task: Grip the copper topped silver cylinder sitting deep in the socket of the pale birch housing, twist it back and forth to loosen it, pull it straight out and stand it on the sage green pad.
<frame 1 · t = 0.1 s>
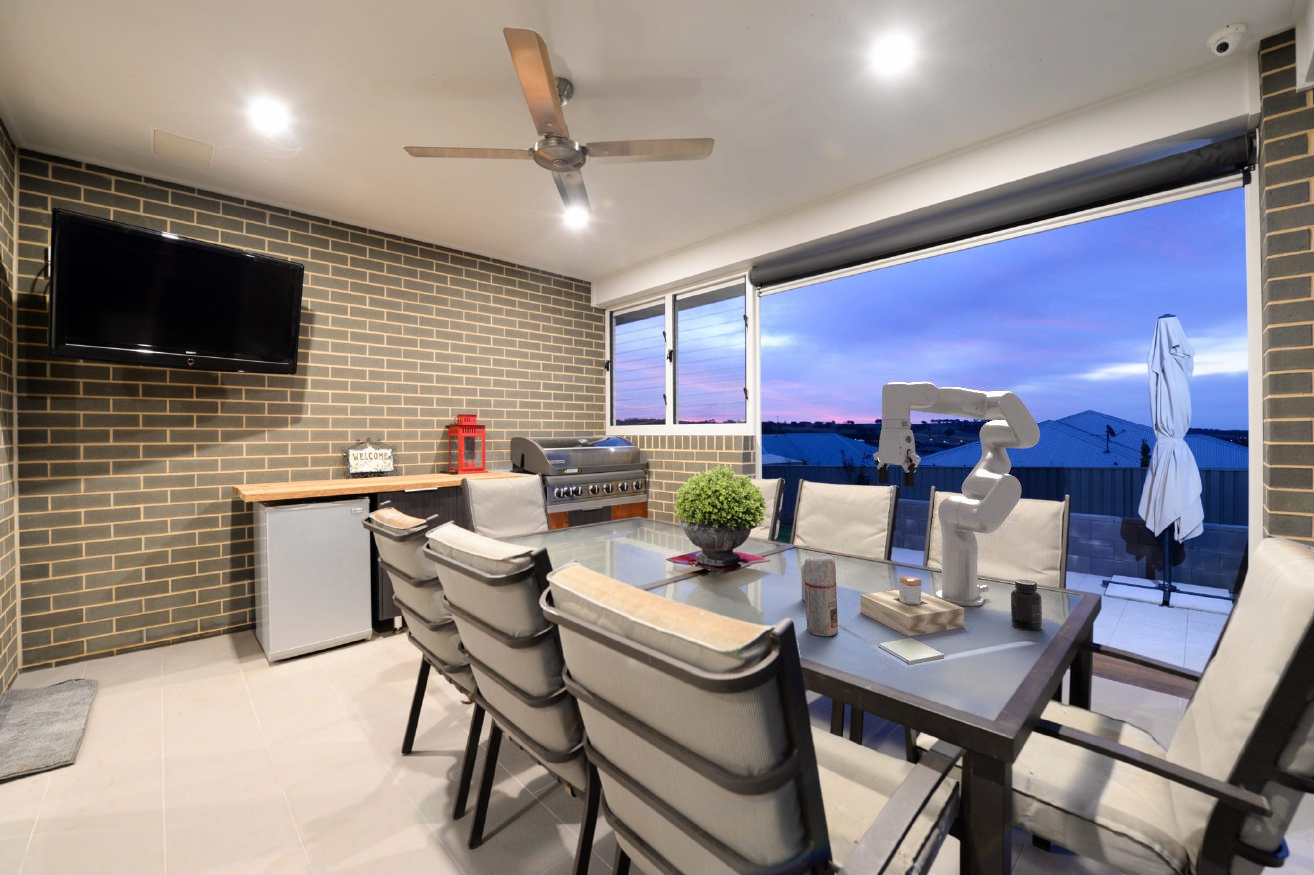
hand: (895, 484, 154), 37 cm above the table, tool pointing down, fingers open, 9 cm apart
spray can: (821, 632, 140), on the table
housing: (910, 623, 145), on the table
pad: (910, 652, 126), on the table
supplement bottle: (1026, 627, 142), on the table
copper topped silver cylinder: (910, 619, 145), point 1 cm above the table, touching housing
can: (814, 601, 163), on the table
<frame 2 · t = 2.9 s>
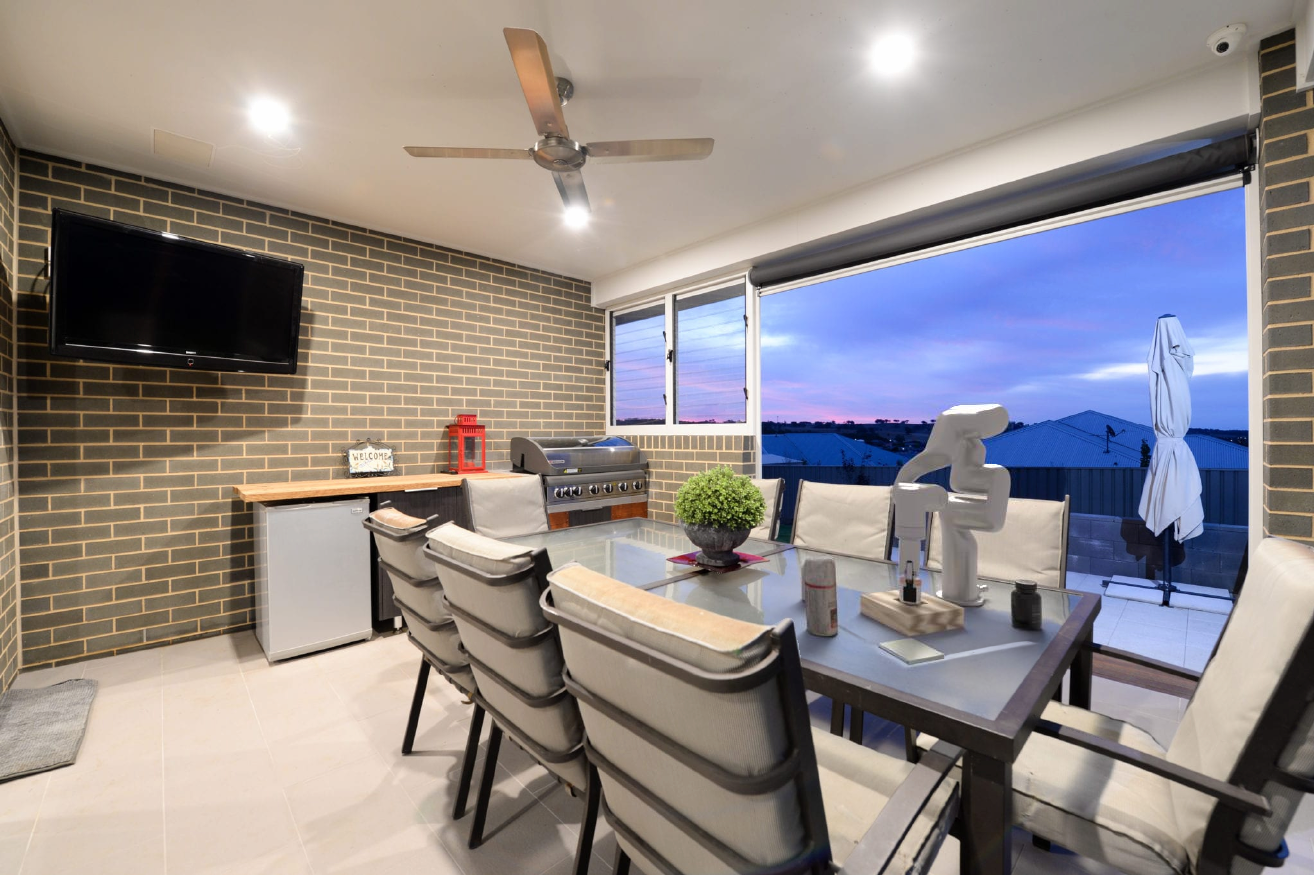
hand: (910, 597, 145), 7 cm above the table, tool pointing down, fingers closed on copper topped silver cylinder, 5 cm apart
copper topped silver cylinder: (910, 619, 145), point 1 cm above the table, touching gripper, housing
everything else where it was.
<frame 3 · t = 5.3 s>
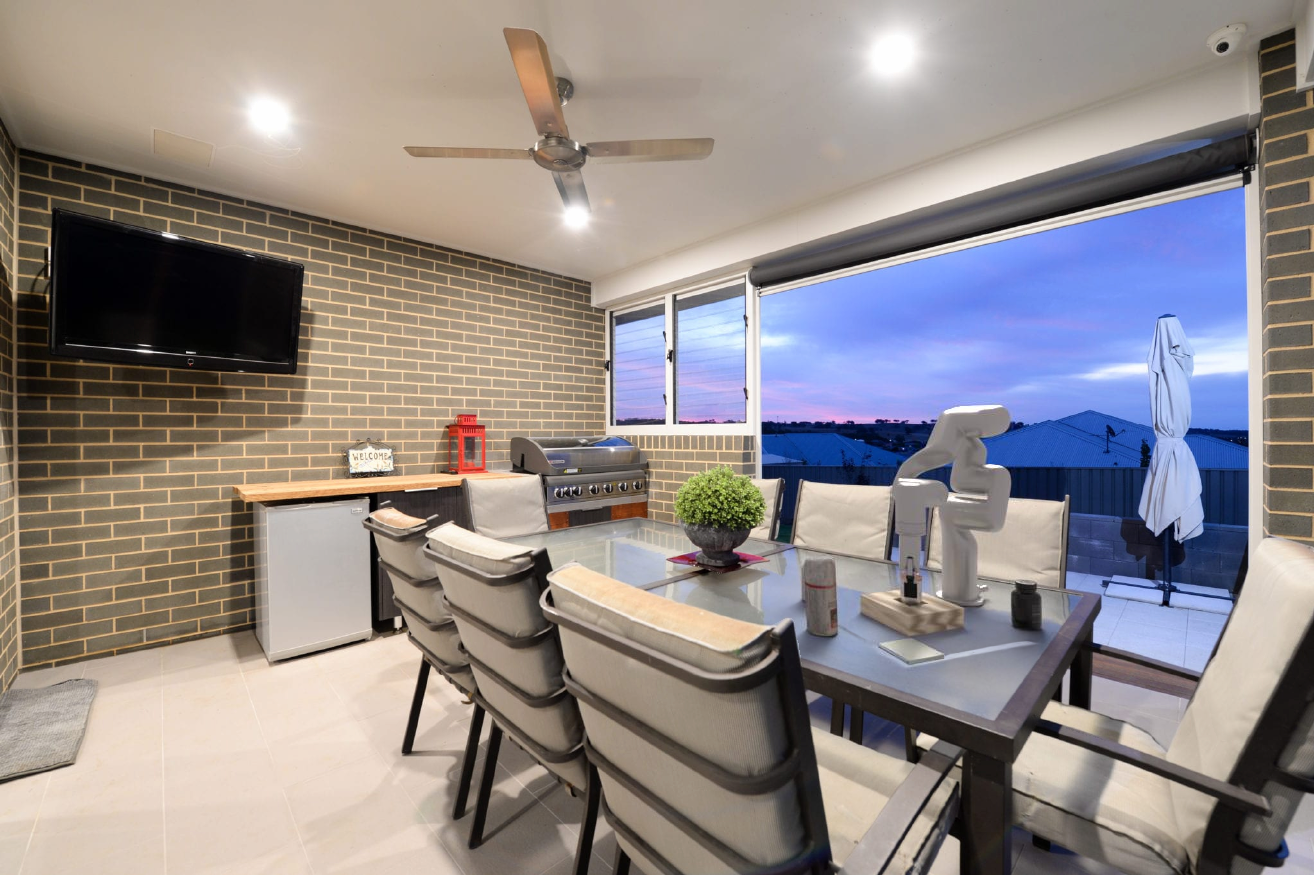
hand: (910, 593, 145), 8 cm above the table, tool pointing down, fingers closed on copper topped silver cylinder, 5 cm apart
copper topped silver cylinder: (911, 614, 145), point 2 cm above the table, touching gripper
everything else where it was.
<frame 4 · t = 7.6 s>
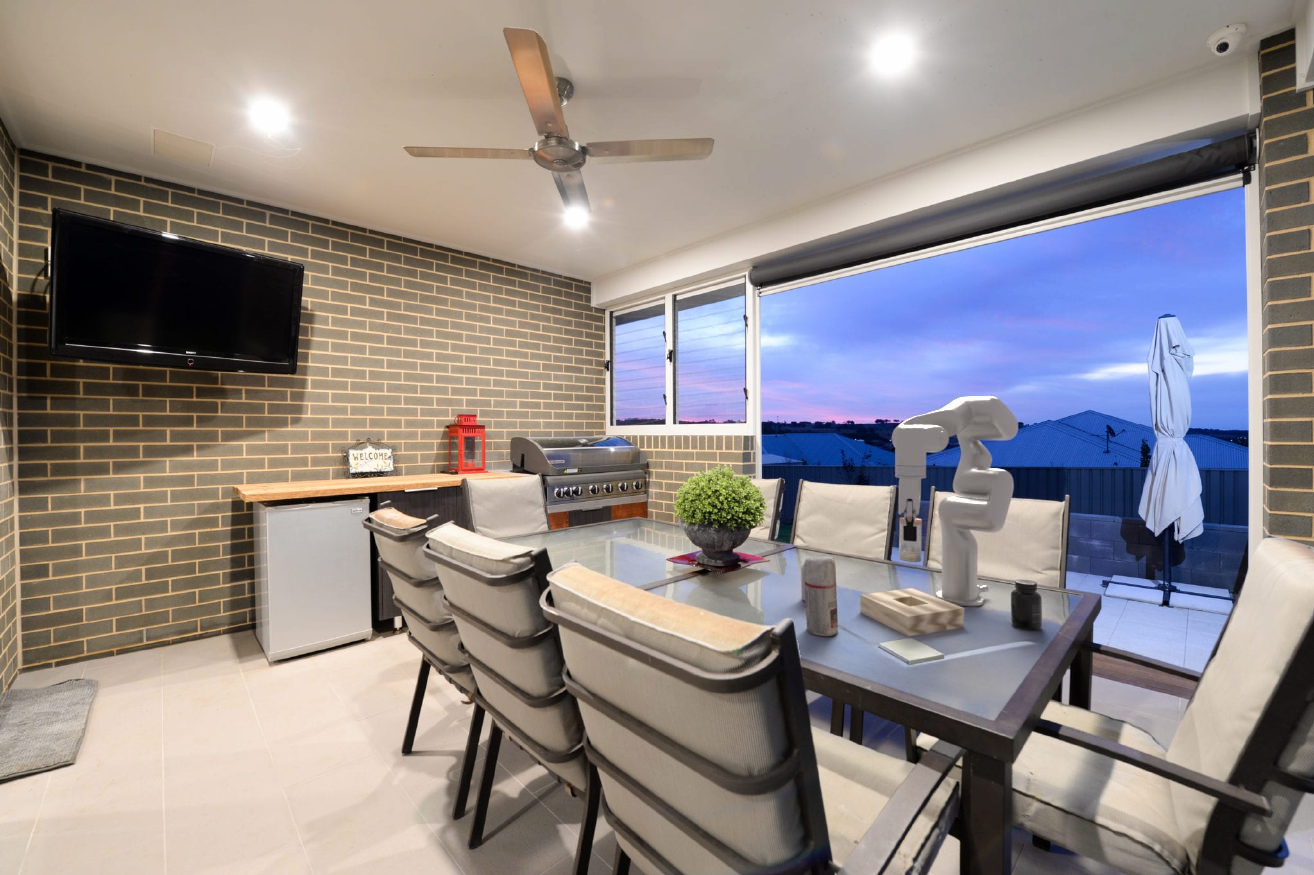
hand: (910, 537, 144), 23 cm above the table, tool pointing down, fingers closed on copper topped silver cylinder, 5 cm apart
copper topped silver cylinder: (909, 559, 144), point 17 cm above the table, touching gripper
everything else where it was.
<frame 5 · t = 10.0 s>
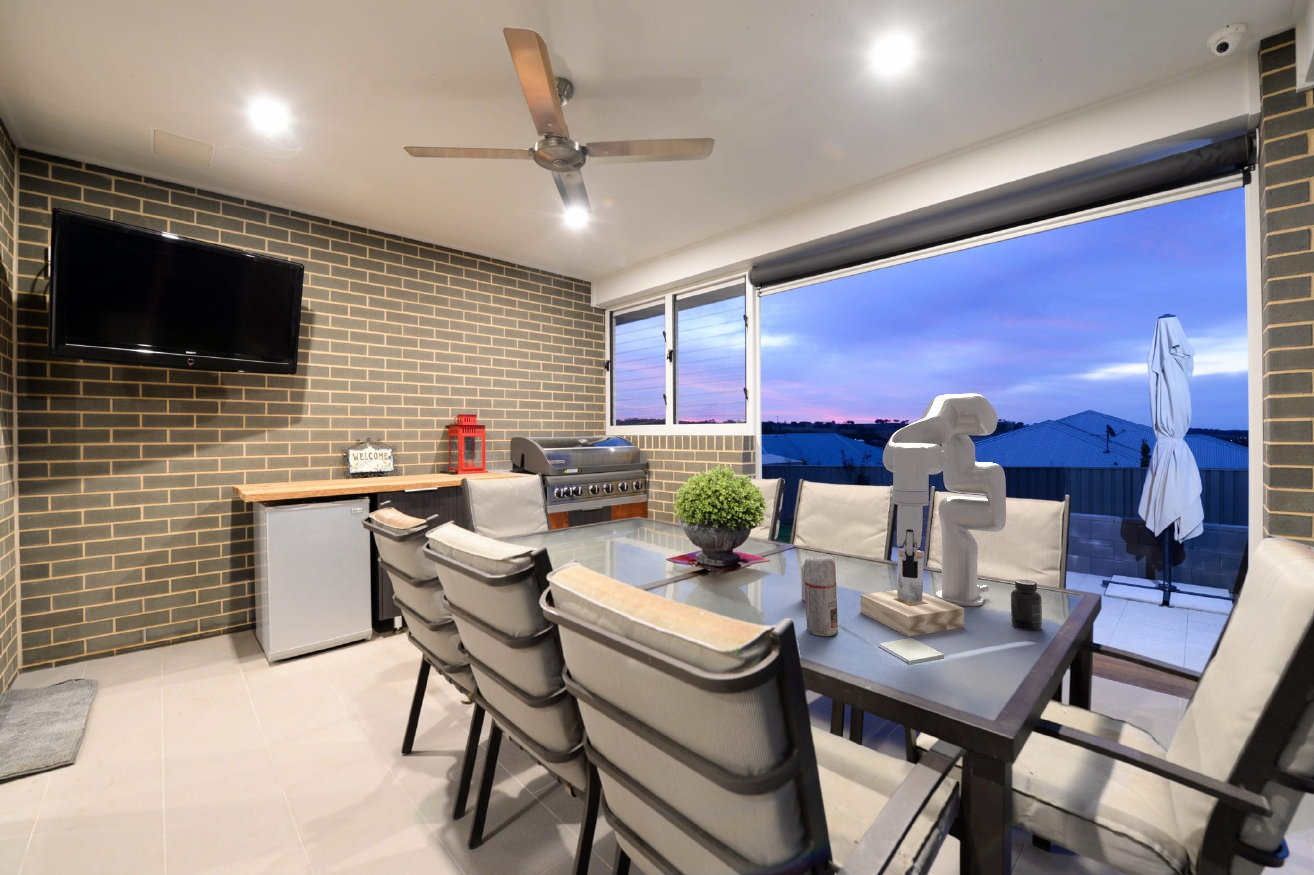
hand: (910, 573, 126), 19 cm above the table, tool pointing down, fingers closed on copper topped silver cylinder, 5 cm apart
copper topped silver cylinder: (909, 597, 126), point 13 cm above the table, touching gripper
everything else where it was.
when the fingers open (8 cm above the table, at t = 12.2 s): copper topped silver cylinder drops 1 cm, resting on pad.
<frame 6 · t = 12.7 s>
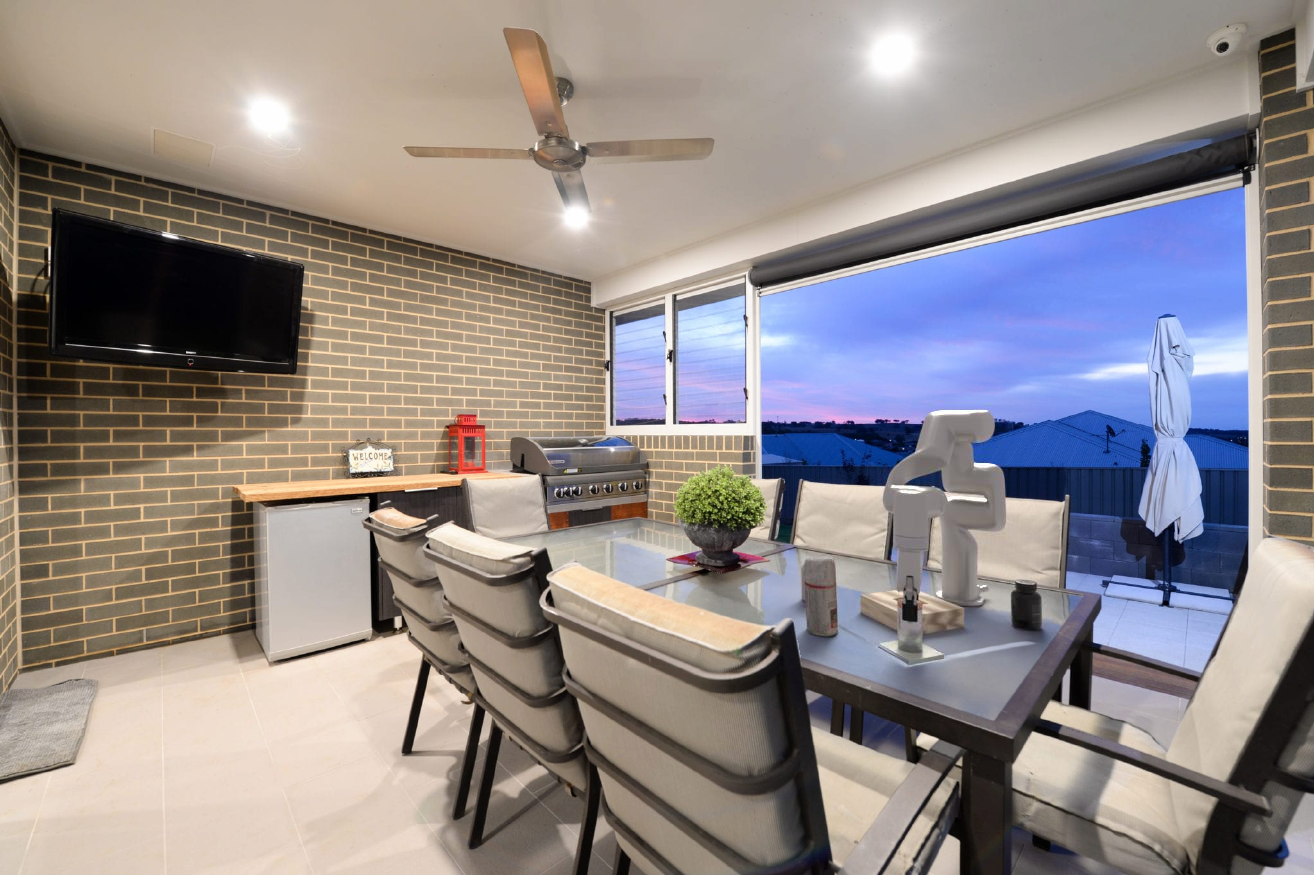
hand: (910, 614, 126), 9 cm above the table, tool pointing down, fingers open, 9 cm apart
copper topped silver cylinder: (910, 648, 126), point 1 cm above the table, touching pad
everything else where it was.
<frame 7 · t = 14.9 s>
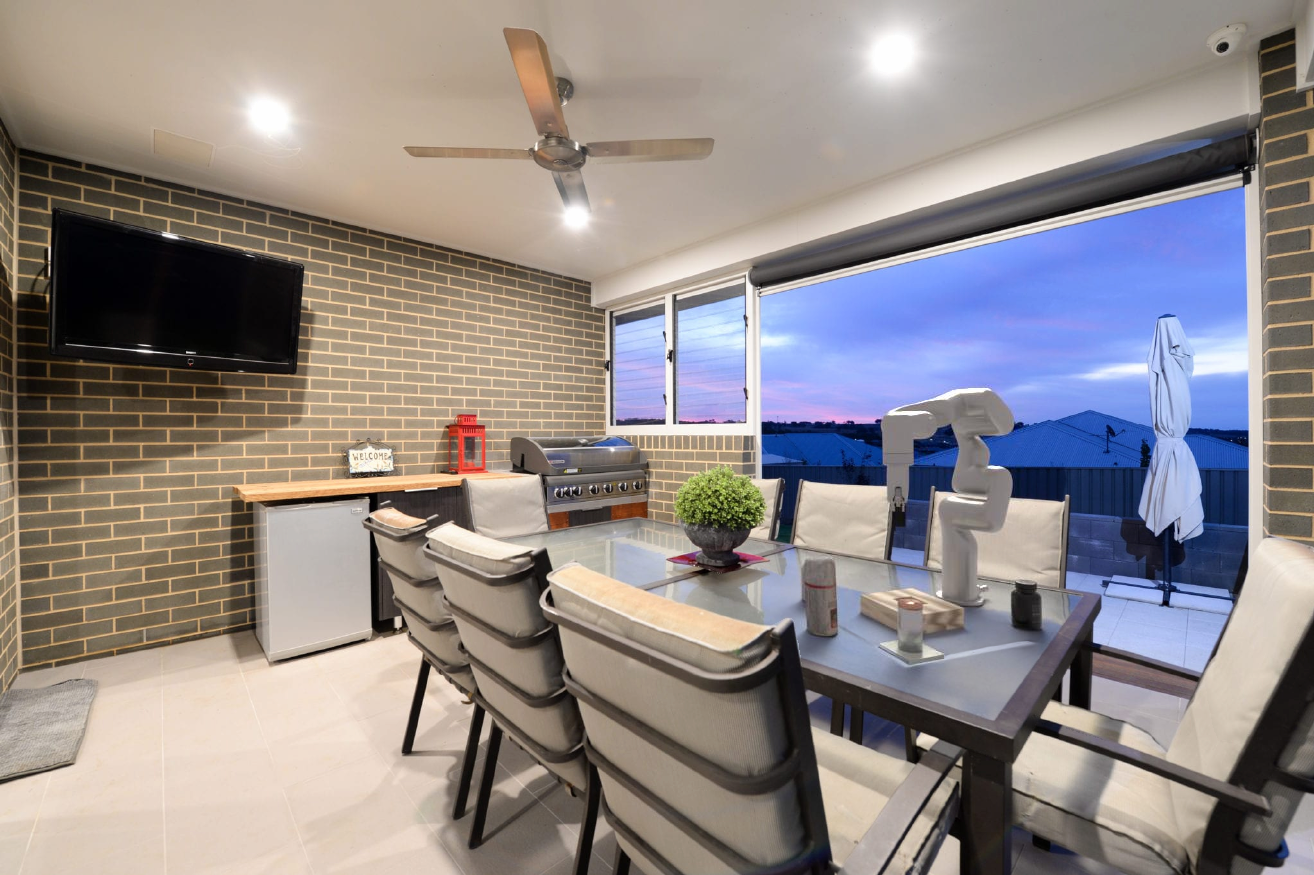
hand: (899, 522, 143), 28 cm above the table, tool pointing down, fingers open, 9 cm apart
nothing on the table moved.
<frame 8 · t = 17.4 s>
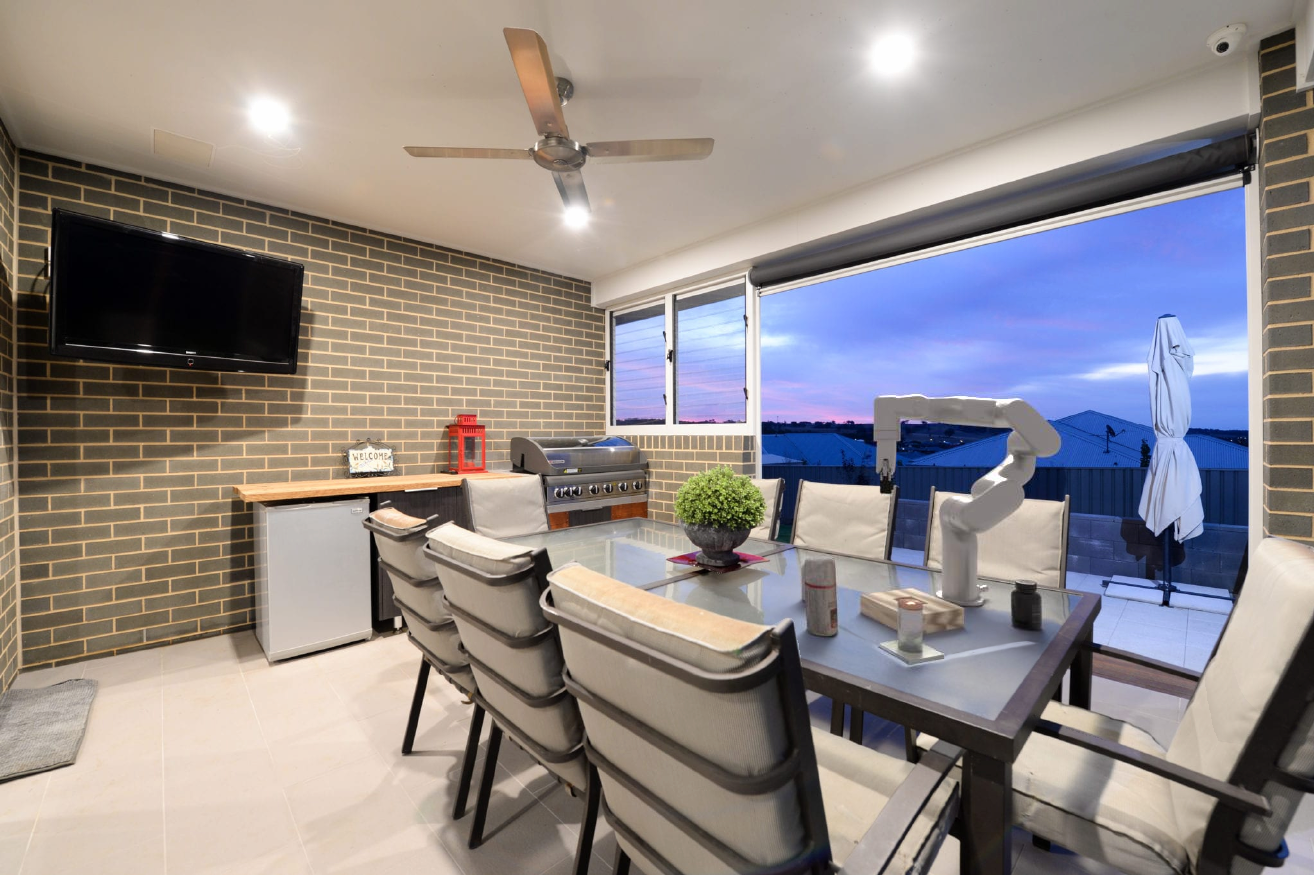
hand: (886, 491, 164), 33 cm above the table, tool pointing down, fingers open, 9 cm apart
nothing on the table moved.
at the end: copper topped silver cylinder inside the target area on the pad (0.2 cm from its centre), point 1.0 cm above the pad's base; copper topped silver cylinder tilted 0°; the gripper is holding nothing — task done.
